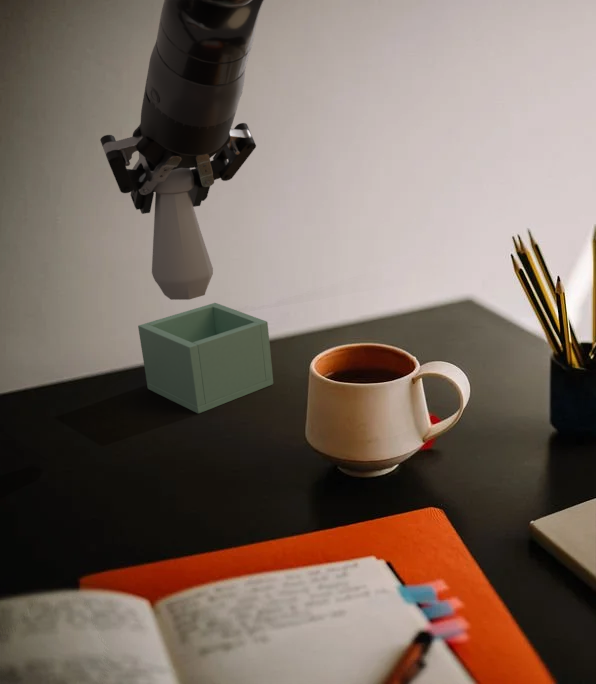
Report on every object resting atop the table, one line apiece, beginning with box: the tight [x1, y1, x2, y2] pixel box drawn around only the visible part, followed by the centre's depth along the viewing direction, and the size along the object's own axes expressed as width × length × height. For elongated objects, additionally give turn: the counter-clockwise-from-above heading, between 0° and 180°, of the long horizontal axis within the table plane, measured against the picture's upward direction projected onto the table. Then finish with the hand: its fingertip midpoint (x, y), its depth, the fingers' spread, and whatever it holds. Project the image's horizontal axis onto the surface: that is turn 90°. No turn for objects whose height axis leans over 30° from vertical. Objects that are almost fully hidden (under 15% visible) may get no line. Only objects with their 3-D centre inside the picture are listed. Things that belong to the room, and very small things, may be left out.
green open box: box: [137, 302, 274, 415], centre depth 103 cm, size 10×10×8 cm
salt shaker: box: [151, 168, 214, 301], centre depth 90 cm, size 6×6×13 cm
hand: (167, 202), depth 90 cm, fingers closed on salt shaker, 4 cm apart
